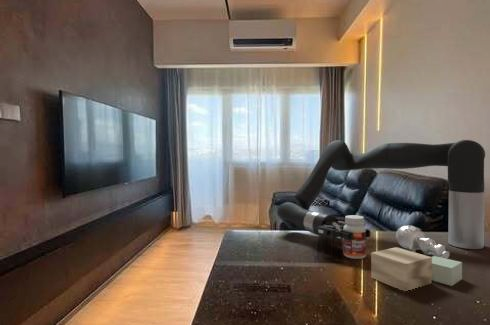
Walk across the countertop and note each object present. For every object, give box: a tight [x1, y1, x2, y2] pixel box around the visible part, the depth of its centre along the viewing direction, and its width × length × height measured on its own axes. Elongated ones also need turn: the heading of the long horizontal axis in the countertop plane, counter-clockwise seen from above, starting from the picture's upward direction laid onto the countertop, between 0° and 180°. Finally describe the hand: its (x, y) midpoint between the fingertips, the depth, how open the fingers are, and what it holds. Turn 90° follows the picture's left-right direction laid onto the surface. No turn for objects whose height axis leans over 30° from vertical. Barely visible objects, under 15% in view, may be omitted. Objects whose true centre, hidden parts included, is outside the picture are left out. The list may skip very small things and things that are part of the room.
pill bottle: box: [342, 214, 367, 260], centre depth 92 cm, size 6×6×11 cm
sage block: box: [431, 255, 463, 287], centre depth 75 cm, size 6×6×4 cm
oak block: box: [370, 246, 433, 292], centre depth 74 cm, size 9×9×6 cm
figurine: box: [395, 224, 450, 259], centre depth 94 cm, size 11×7×15 cm
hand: (361, 235), depth 90 cm, fingers closed on pill bottle, 6 cm apart
